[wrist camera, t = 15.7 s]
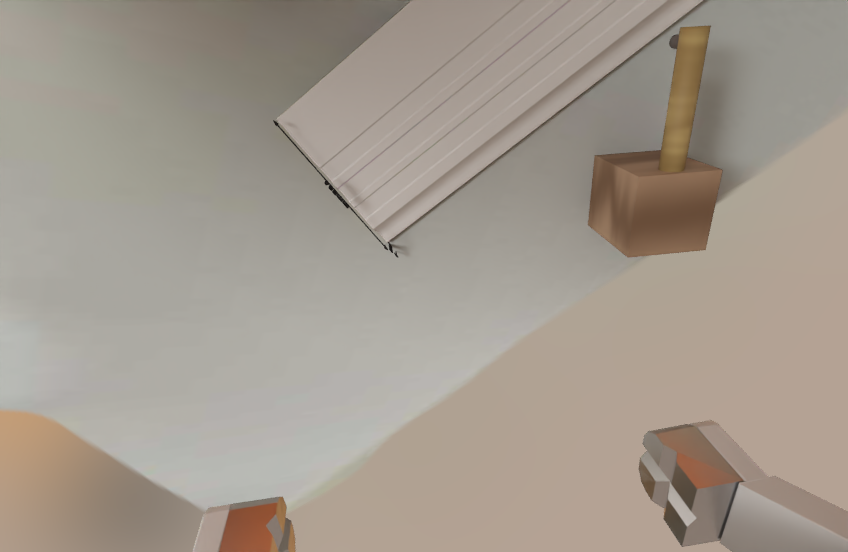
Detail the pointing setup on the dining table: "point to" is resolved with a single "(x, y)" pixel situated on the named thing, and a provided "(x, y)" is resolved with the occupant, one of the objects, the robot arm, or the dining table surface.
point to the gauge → (660, 174)
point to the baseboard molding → (457, 93)
